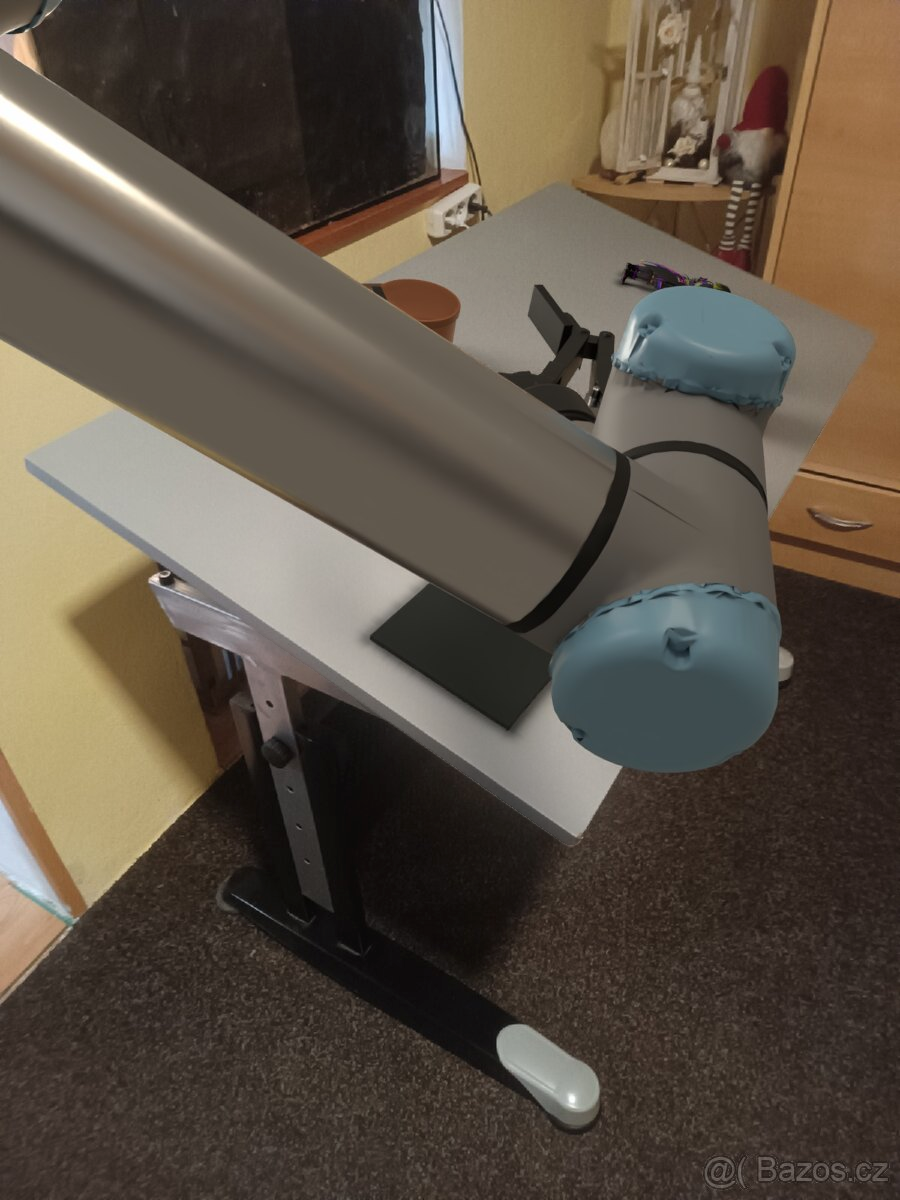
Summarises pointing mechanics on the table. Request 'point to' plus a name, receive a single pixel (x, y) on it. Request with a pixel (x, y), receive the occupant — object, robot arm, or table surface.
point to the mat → (467, 654)
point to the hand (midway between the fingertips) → (457, 301)
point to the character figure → (665, 277)
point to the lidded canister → (425, 304)
